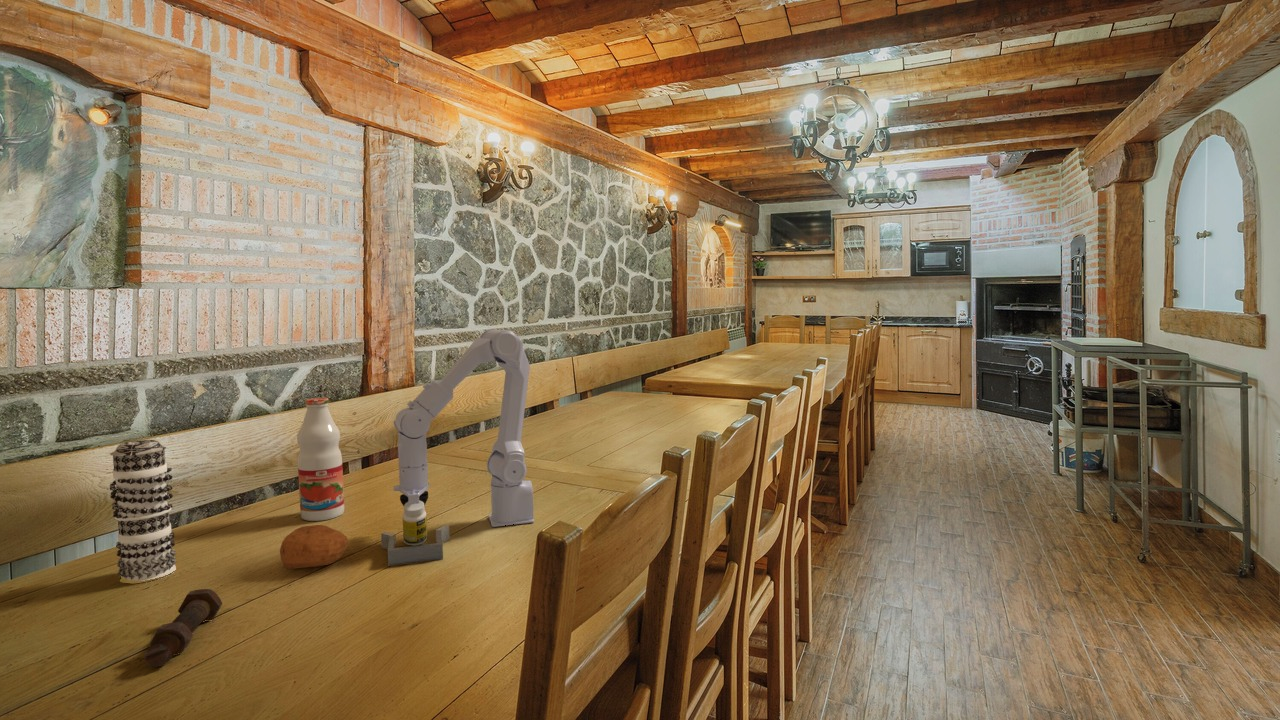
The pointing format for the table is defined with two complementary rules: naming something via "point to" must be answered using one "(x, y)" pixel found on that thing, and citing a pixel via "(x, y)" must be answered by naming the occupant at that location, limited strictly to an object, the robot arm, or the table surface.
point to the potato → (312, 547)
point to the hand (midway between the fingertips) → (415, 527)
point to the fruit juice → (320, 464)
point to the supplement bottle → (414, 523)
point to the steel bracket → (414, 549)
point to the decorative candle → (142, 510)
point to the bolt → (182, 626)
